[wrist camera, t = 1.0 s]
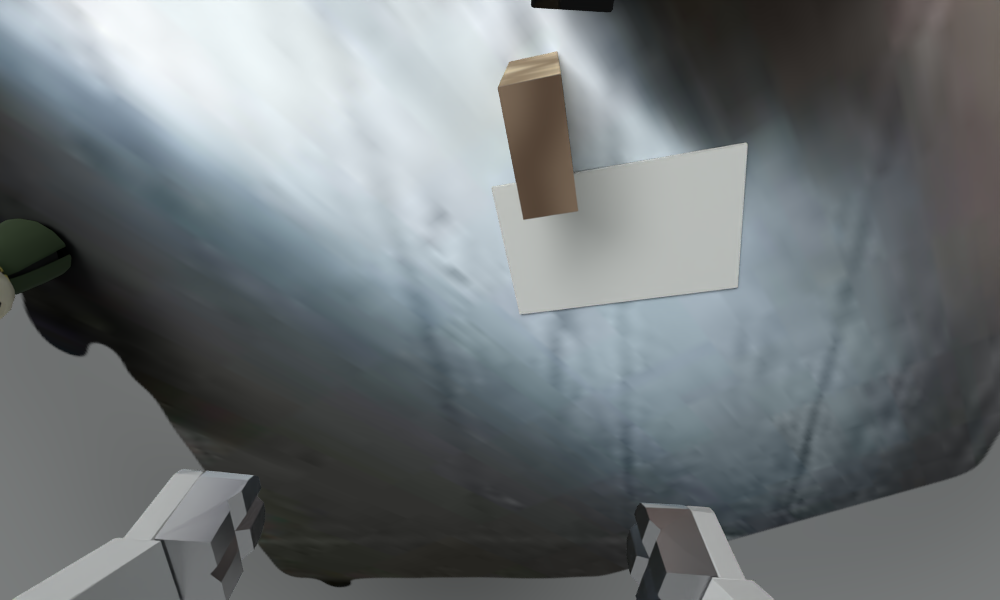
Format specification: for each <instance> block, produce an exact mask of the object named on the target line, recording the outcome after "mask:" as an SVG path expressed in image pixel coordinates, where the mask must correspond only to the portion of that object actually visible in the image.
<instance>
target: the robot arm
mask: <svg viewBox="0 0 1000 600" xmlns="http://www.w3.org/2000/svg"><path fill="white" fill-rule="evenodd" d="M260 489H261V485H260V481H259V477H258V476H253V475H243V474H233V473H223V472H213V471H200V470H188V469H182V470H180V471H179V472H177V473H176V474H174V475H173V476H172V478H171V479H170V480H169V481H168V483H167V484H166V485H165V486H164V488H163V489H162V490H161V491H160V493H159V494H158V495H157V496H156V498H155V499H154V501H153V502H152V503H151V504H150V505H149V507H148V508H147V509H146V510H145V512H144V513H143V514H142V515H141V517H140V518H139V519H138V520H137V522H136V523H135V524H134V526H133V527H132V528H131V529H130V531H129V532H128V533H127V534H126V536H125V537H124V538H115V539H113V540H111V541H109V542H108V543H106V544H104V545H103V546H101V547H99V548H98V549H96V550H94V551H93V552H91V553H89V554H88V555H86V556H85V557H83V558H81V559H79V560H78V561H76V562H74V563H73V564H71V565H69V566H68V567H66V568H64V569H62V570H61V571H59V572H57V573H56V574H54V575H53V576H51V577H49V578H48V579H46V580H44V581H42V582H41V583H39V584H38V585H36V586H34V587H32V588H31V589H29V590H27V591H26V592H24V593H22V594H21V595H19V596H17V597H16V598H14V599H12V600H229V598H230V596H231V594H232V592H233V590H234V588H235V586H236V585H237V583H238V581H239V579H240V577H241V575H242V573H243V566H242V562H241V559H243V558H244V557H245V556H247V555H248V554H249V553H251V552H252V551H253V550H254V549H255V547H256V545H257V543H258V541H259V539H260V536H261V533H262V529H263V525H264V522H265V507H264V503H263V502H262V501H261V500H260V499H259V498H258V497H257V494H258V493H259V491H260ZM634 515H635V518H636V522H637V524H635V525H634V526H633V527H631V528H630V530H629V533H628V537H627V548H626V554H627V562H628V567H629V571H630V575H631V576H632V577H633V578H634V580H635V581H636V582H637V583H638V584H639V588H638V591H637V594H636V600H774V599H773V598H772V597H771V596H770V595H769V594H768V593H766V592H765V591H764V590H763V589H762V588H761V587H760V586H759V585H758V584H757V583H756V582H754V581H753V580H746V579H745V577H744V574H743V572H742V570H741V568H740V566H739V564H738V562H737V560H736V558H735V555H734V553H733V551H732V549H731V547H730V545H729V543H728V541H727V539H726V537H725V534H724V532H723V530H722V528H721V526H720V524H719V522H718V520H717V518H716V515H715V513H714V512H713V511H712V510H711V509H710V508H709V507H696V506H684V505H670V504H653V503H640V504H639V505H638V506H637V508H636V511H635V514H634Z"/></svg>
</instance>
